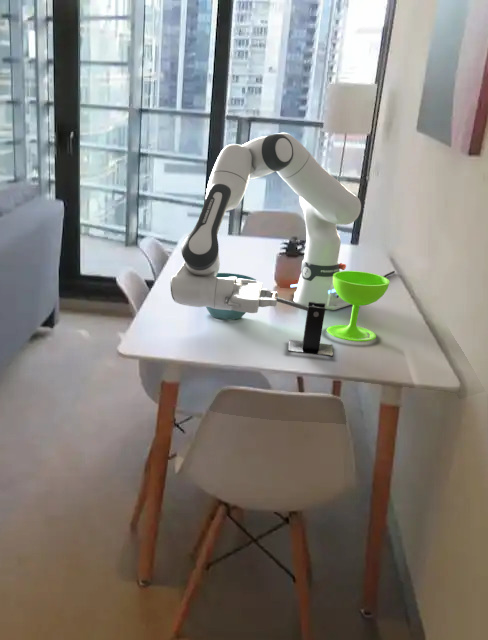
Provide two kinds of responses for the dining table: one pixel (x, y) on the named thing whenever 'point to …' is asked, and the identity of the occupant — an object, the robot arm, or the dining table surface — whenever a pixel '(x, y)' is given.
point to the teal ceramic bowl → (228, 313)
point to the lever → (290, 302)
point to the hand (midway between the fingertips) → (277, 298)
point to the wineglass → (357, 300)
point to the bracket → (312, 333)
